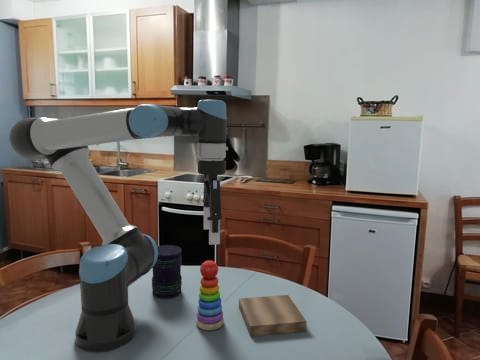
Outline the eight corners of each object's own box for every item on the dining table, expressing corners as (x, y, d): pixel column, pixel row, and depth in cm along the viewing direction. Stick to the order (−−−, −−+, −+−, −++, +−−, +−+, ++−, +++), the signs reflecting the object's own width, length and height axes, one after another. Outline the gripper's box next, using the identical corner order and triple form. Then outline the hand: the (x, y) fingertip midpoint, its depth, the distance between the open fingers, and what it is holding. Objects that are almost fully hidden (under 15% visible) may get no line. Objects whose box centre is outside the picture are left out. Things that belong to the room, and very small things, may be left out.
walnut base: (250, 336, 99) (250, 326, 99) (238, 307, 114) (239, 298, 114) (306, 331, 102) (306, 321, 102) (287, 303, 118) (288, 294, 117)
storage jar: (185, 286, 128) (185, 245, 126) (177, 300, 118) (177, 256, 116) (157, 285, 129) (156, 244, 127) (147, 298, 119) (146, 254, 117)
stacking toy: (225, 317, 108) (226, 257, 105) (221, 332, 100) (222, 267, 98) (199, 315, 109) (199, 255, 106) (193, 330, 101) (193, 266, 98)
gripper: (234, 164, 86) (232, 250, 89) (219, 155, 110) (218, 223, 114) (202, 164, 85) (201, 252, 88) (194, 155, 109) (194, 224, 112)
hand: (211, 236), depth 101 cm, fingers open, 13 cm apart
